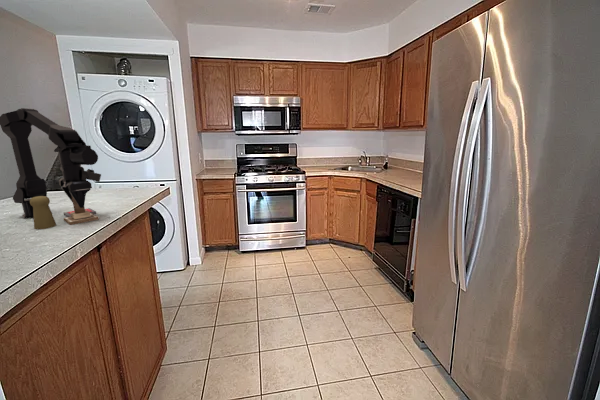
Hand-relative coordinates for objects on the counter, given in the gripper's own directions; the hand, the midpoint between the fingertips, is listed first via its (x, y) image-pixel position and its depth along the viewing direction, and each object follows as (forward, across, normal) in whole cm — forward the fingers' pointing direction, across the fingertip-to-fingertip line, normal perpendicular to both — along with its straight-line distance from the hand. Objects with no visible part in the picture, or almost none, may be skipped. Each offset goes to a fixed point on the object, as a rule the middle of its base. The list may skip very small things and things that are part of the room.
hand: (78, 205), depth 109 cm
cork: (+6, 0, +10) cm, 12 cm away
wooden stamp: (+5, 0, 0) cm, 5 cm away
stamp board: (+6, 0, 0) cm, 6 cm away
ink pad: (+6, +10, -2) cm, 12 cm away
